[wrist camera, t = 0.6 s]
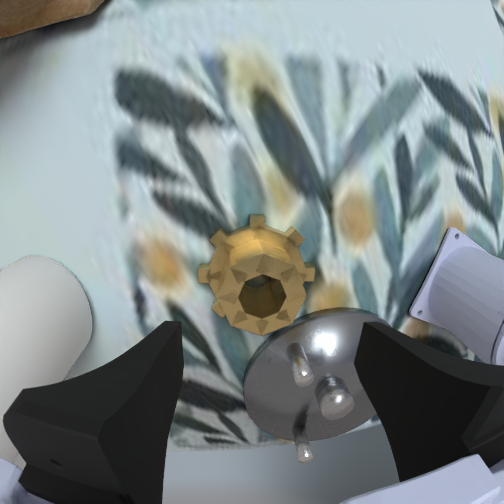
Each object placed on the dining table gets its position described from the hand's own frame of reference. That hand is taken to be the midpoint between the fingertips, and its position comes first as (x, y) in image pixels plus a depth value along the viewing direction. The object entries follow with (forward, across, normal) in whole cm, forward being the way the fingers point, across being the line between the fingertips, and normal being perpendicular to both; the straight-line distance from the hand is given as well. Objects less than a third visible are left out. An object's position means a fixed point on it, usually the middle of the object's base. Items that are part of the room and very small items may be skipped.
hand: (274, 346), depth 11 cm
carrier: (+9, -6, +10) cm, 15 cm away
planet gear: (+9, 0, 0) cm, 9 cm away
